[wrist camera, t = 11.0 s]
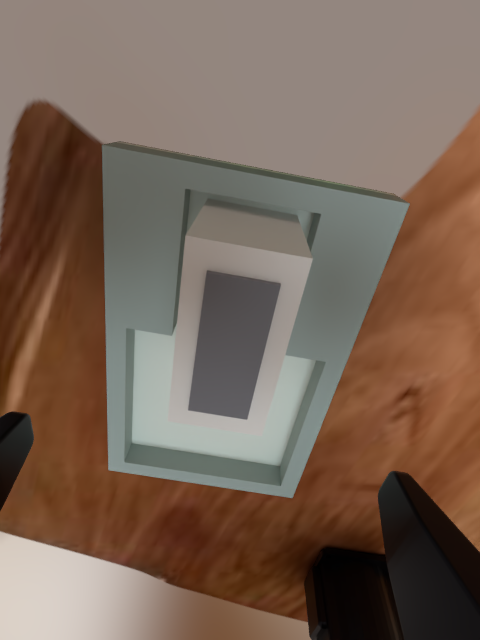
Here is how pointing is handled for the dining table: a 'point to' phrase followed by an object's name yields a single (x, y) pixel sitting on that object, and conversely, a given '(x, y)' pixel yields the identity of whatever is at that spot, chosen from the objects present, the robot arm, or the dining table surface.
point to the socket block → (235, 314)
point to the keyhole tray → (163, 301)
